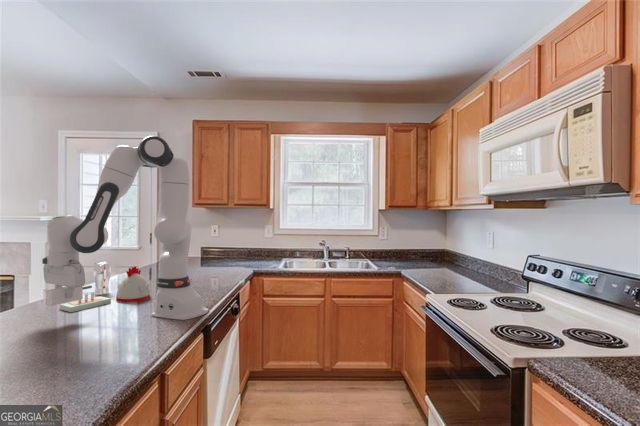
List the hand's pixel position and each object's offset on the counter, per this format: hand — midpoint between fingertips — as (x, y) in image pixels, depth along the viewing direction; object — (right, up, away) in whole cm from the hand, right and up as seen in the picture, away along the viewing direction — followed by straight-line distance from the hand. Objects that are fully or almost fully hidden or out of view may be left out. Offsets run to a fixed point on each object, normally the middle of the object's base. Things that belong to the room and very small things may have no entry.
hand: (64, 297), depth 123 cm
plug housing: (+1, -2, +2) cm, 3 cm away
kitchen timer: (+6, -10, +34) cm, 36 cm away
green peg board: (-6, -9, +20) cm, 23 cm away
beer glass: (-14, -9, +42) cm, 45 cm away
